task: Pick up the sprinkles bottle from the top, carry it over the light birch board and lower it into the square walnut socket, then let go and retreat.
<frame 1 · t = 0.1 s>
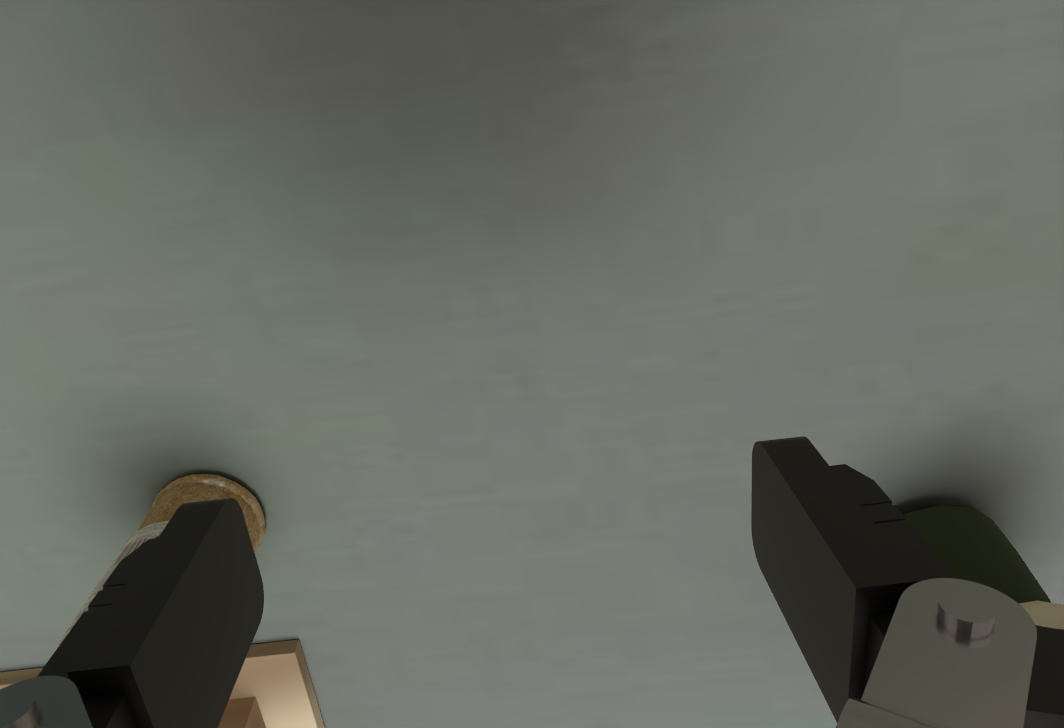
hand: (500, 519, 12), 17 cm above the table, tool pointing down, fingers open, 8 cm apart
sprinkles bottle: (214, 512, 33), on the table
character mug: (919, 550, 35), on the table
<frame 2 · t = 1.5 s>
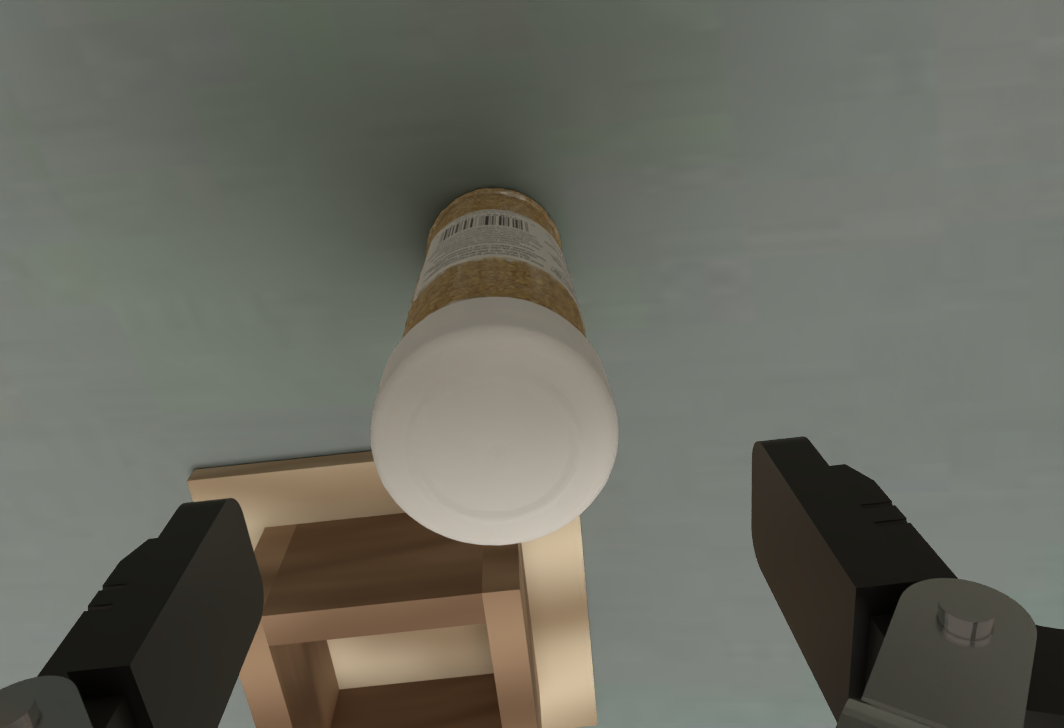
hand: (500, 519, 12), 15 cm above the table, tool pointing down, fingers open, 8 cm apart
socket: (412, 600, 32), on the table
sprinkles bottle: (495, 250, 27), on the table
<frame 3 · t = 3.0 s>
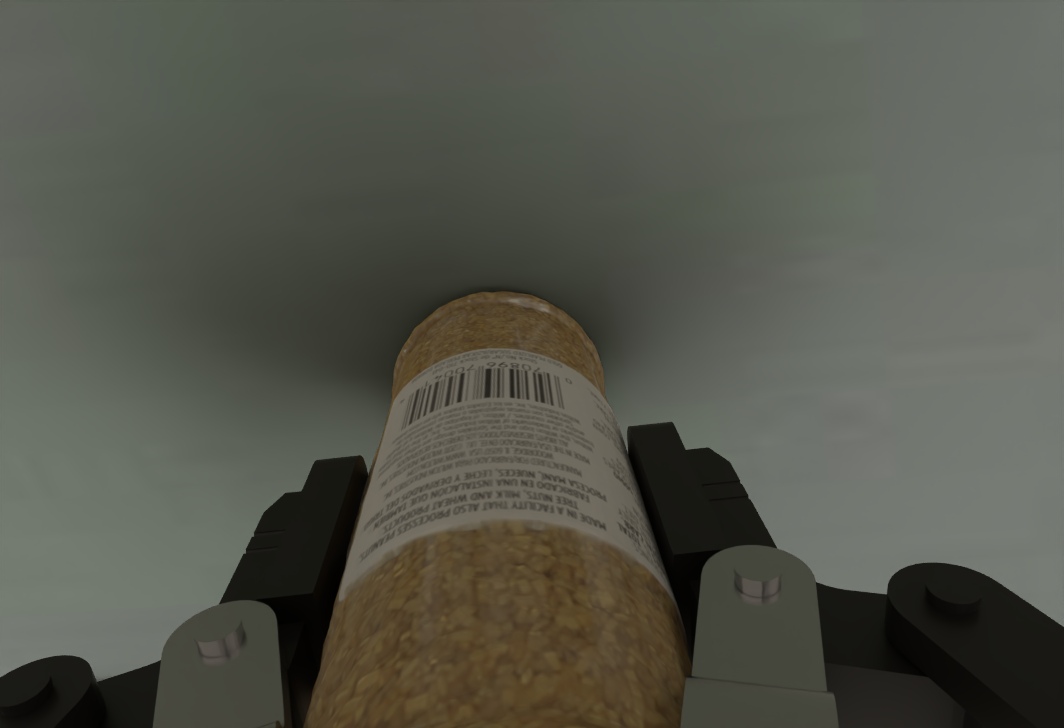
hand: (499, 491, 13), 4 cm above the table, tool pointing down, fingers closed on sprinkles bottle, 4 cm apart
sprinkles bottle: (501, 380, 17), on the table, touching gripper
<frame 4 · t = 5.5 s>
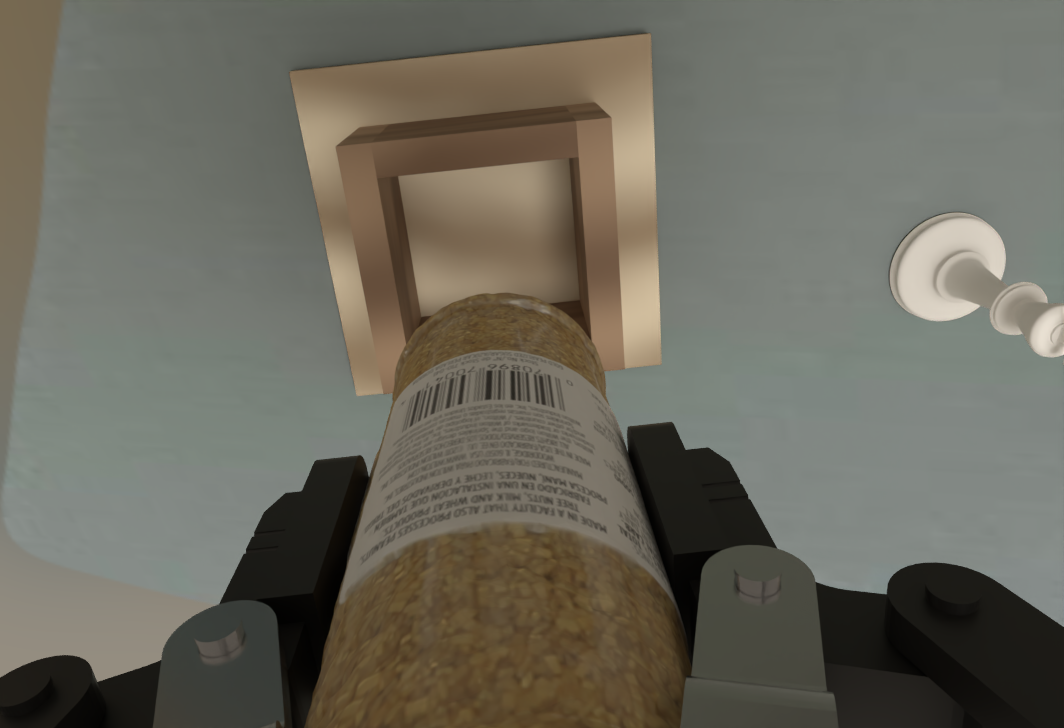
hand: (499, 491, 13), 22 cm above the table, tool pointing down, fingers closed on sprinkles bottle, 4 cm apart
socket: (491, 225, 34), on the table
chess piece: (941, 265, 36), on the table
sprinkles bottle: (502, 381, 17), point 18 cm above the table, touching gripper
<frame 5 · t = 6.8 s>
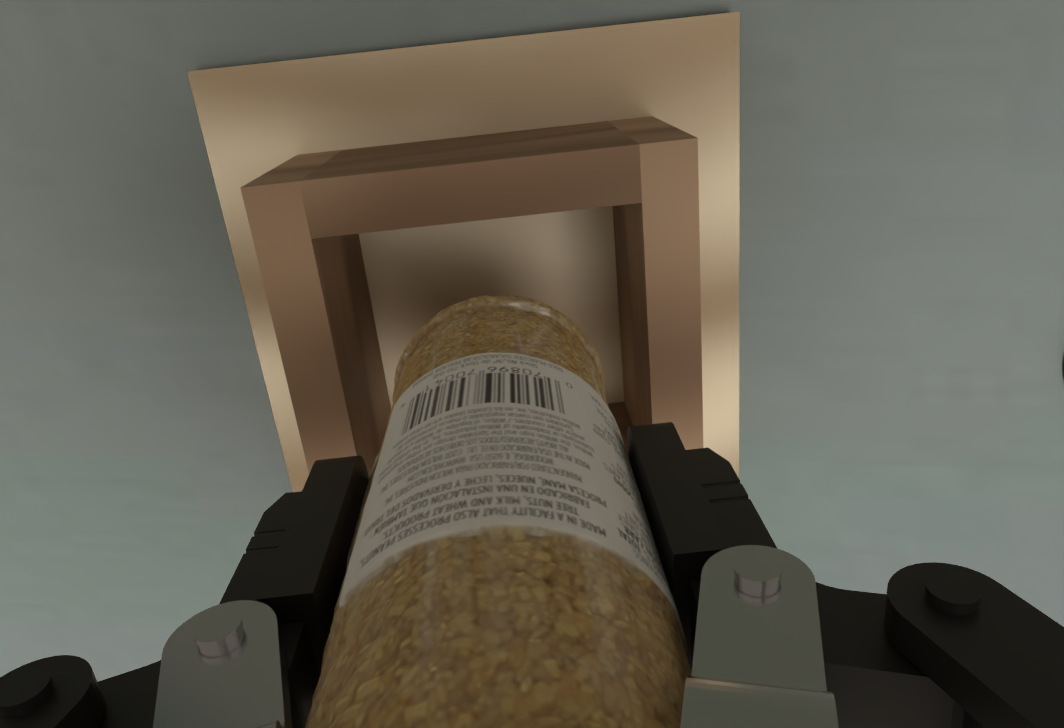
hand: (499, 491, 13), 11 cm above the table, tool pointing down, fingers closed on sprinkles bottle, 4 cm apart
socket: (495, 296, 23), on the table
sprinkles bottle: (502, 383, 17), point 6 cm above the table, touching gripper
when the fingers open (7 cm above the table, at t = 7.9 s): sprinkles bottle drops 2 cm, resting on socket.
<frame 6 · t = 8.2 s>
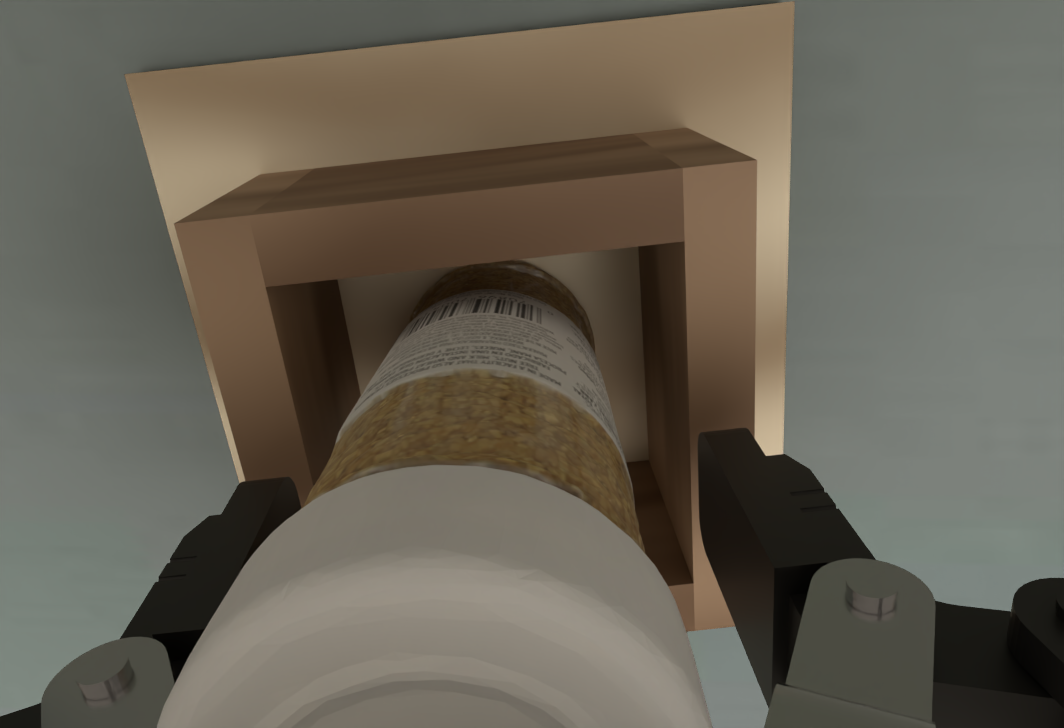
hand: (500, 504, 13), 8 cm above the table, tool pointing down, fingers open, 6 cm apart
socket: (498, 338, 20), on the table
sprinkles bottle: (502, 347, 19), point 1 cm above the table, touching socket
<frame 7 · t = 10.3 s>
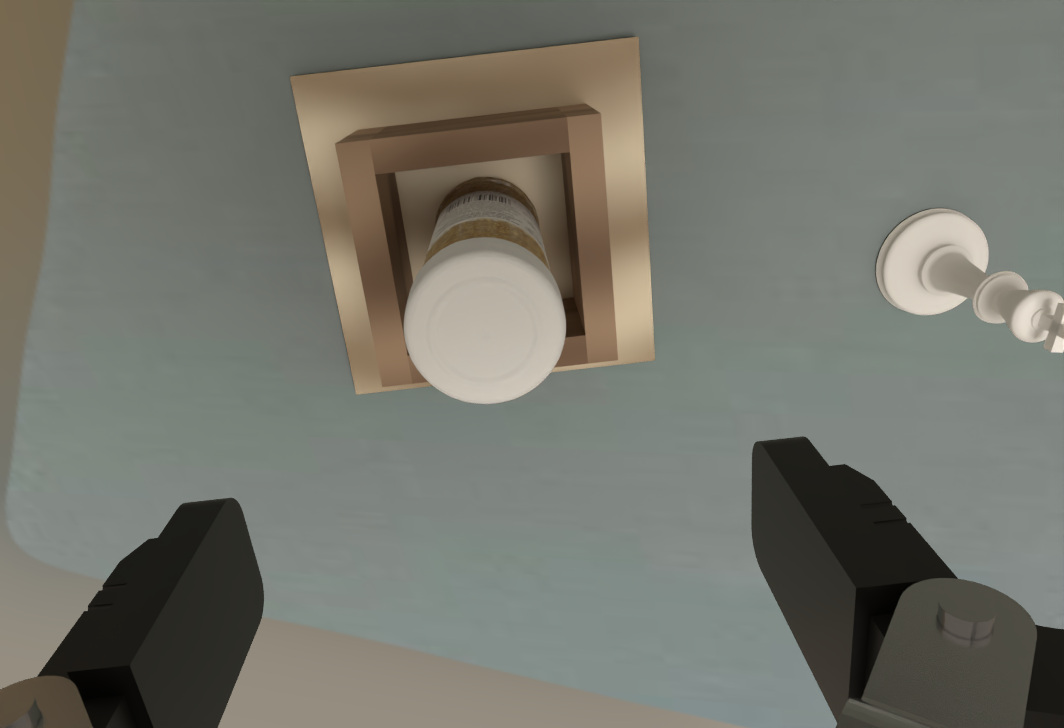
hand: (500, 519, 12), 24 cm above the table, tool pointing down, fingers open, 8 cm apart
socket: (486, 225, 35), on the table
chess piece: (926, 260, 36), on the table
sprinkles bottle: (488, 226, 34), point 1 cm above the table, touching socket
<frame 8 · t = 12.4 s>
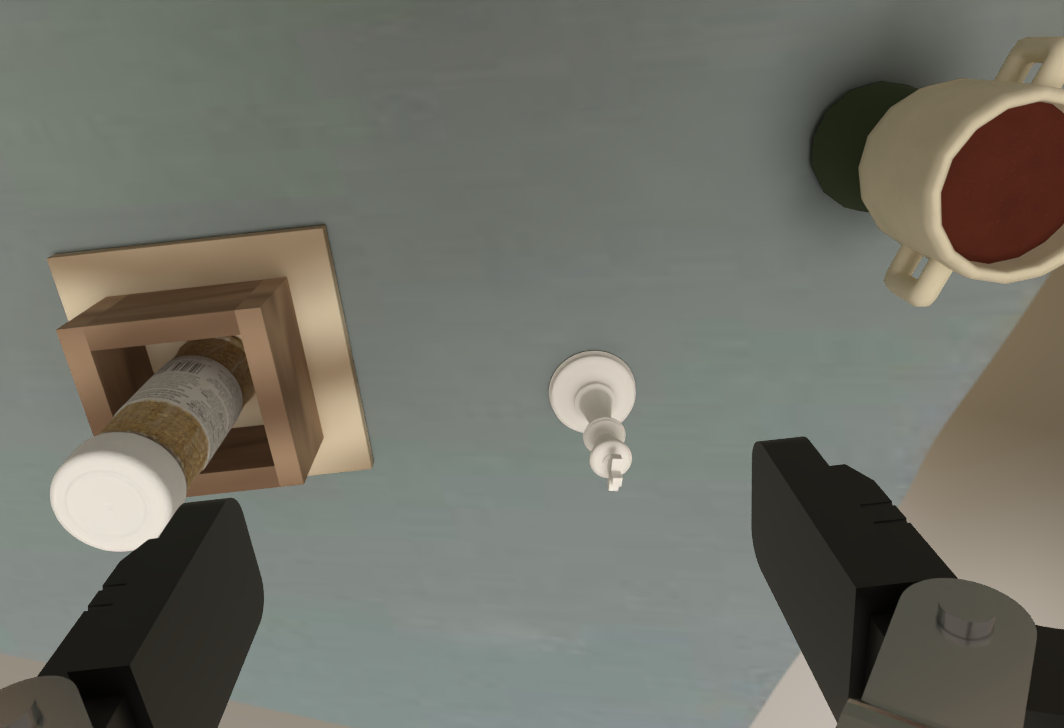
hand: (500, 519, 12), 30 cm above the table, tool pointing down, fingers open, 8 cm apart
socket: (224, 364, 43), on the table
chess piece: (591, 389, 45), on the table
sprinkles bottle: (222, 367, 43), point 1 cm above the table, touching socket
character mug: (866, 145, 40), on the table
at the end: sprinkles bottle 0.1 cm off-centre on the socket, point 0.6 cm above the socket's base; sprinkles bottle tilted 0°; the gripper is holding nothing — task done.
